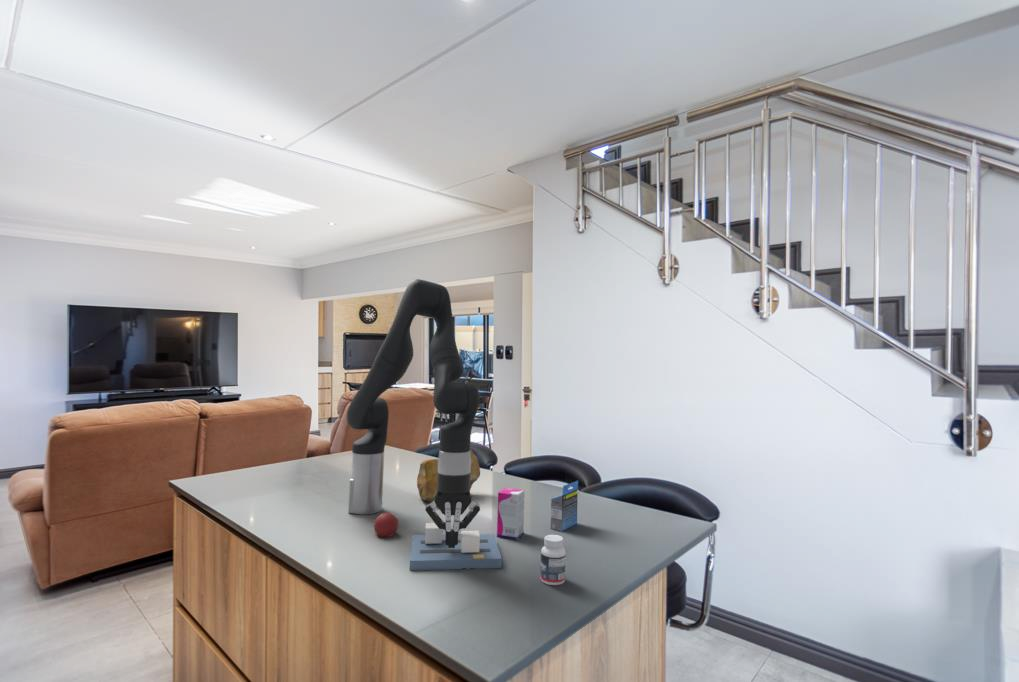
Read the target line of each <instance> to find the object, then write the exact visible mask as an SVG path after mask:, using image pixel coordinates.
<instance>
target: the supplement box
mask: <svg viewBox="0 0 1019 682" xmlns="http://www.w3.org/2000/svg"><path fill="white" fill-rule="evenodd" d="M496 520H497V521H496V526H497V527H496V537H497V538H503V537H504V538H503V539H510V538H511V540H518V539H519V538H521V536H522V535H523V534H524V533H525V529H524V527H525V525H524V523H525V489H520V488H519V489H517V488H509V487H508V488H507V487H505V488H503V489H502V490H500V491H498V492H497V519H496Z"/></svg>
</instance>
